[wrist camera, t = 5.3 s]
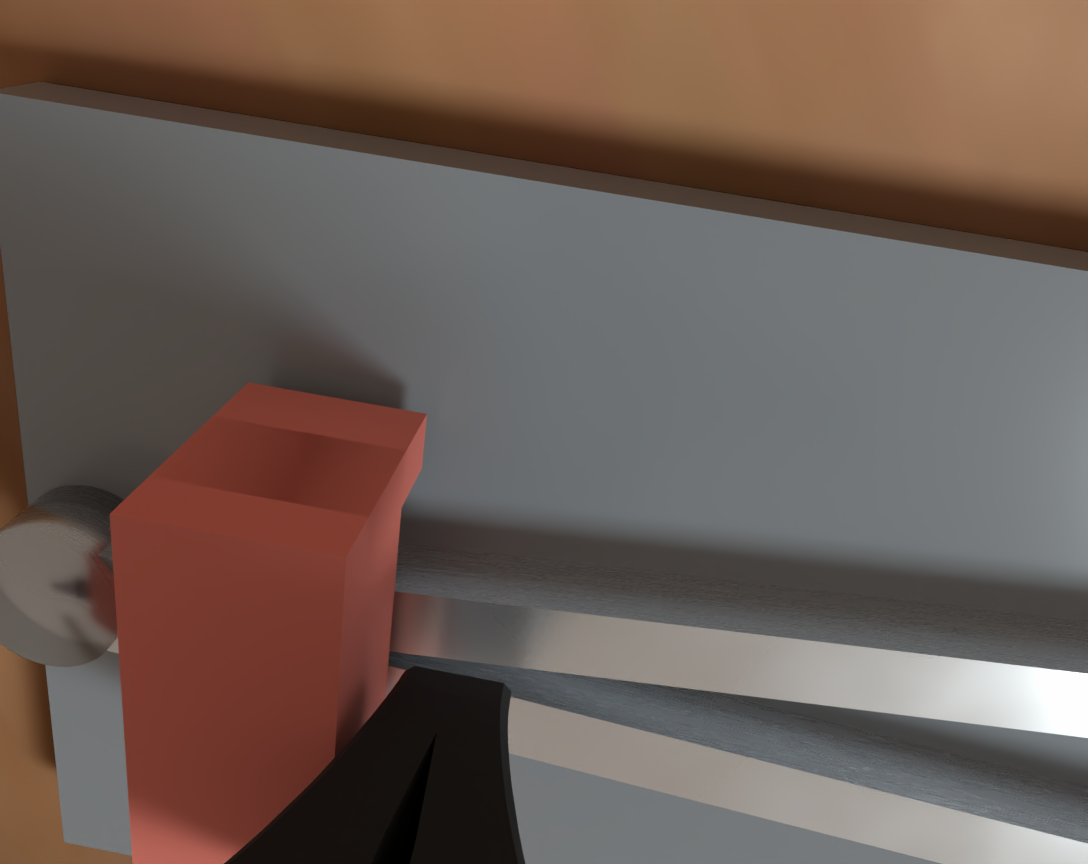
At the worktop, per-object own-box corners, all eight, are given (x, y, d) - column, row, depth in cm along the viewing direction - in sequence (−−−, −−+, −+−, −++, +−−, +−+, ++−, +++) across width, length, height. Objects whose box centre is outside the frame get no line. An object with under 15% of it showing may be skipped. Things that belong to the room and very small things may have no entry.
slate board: (1585, 332, 12) (1674, 366, 11) (1157, 1002, 18) (1190, 1068, 17) (40, 81, 13) (-18, 90, 12) (99, 792, 19) (64, 841, 18)
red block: (427, 413, 13) (346, 558, 10) (391, 795, 16) (320, 1002, 12) (248, 382, 13) (109, 513, 10) (245, 767, 16) (138, 965, 13)
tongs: (1529, 648, 13) (1624, 722, 11) (1333, 921, 15) (1395, 1009, 14) (7, 377, 14) (-60, 417, 12) (40, 671, 16) (-15, 731, 15)
